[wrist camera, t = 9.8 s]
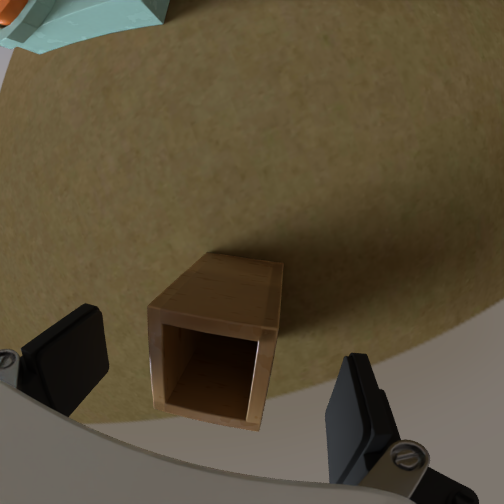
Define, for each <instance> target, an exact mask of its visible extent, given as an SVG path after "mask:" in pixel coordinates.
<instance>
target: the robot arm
mask: <svg viewBox="0 0 504 504" xmlns="http://www.w3.org/2000/svg"><path fill="white" fill-rule="evenodd" d="M21 351H22V355H23V356H21V357H20V356H19V354H18V353H17V352H16V351H14V350H11V349H2V350H0V504H479V499H478V497H477V495H476V494H475V493H474V491H473V490H471V489H470V488H468V487H466V486H464V485H462V484H460V483H458V482H456V481H454V480H452V479H450V478H448V477H447V476H445V475H443V474H440V473H439V472H437V471H435V470H433V469H431V468H430V467H428V466H429V463H430V455H429V453H428V451H427V450H426V449H425V447H424V446H422V445H421V444H419V443H418V442H415V441H411V440H401V439H400V435H399V432H398V429H397V426H396V423H395V420H394V417H393V414H392V411H391V408H390V406H389V402H388V400H387V397H386V394H385V392H384V390H382V389H379V387H378V384H377V382H376V379H375V376H374V373H373V371H372V367H371V365H370V362H369V359H368V356H367V354H361V353H351V354H350V355H349V356H345V357H344V359H343V362H342V365H341V369H340V372H339V375H338V378H337V381H336V384H335V387H334V389H333V392H332V395H331V398H330V401H329V403H328V406H327V409H326V413H325V422H326V434H327V448H328V464H329V482H330V483H318V482H303V481H292V480H282V479H273V478H266V477H258V476H252V475H245V474H240V473H234V472H229V471H224V470H218V469H214V468H209V467H205V466H200V465H197V464H192V463H188V462H185V461H181V460H178V459H174V458H170V457H167V456H164V455H160V454H157V453H154V452H151V451H148V450H145V449H142V448H139V447H136V446H133V445H131V444H128V443H126V442H123V441H120V440H118V439H115V438H113V437H110V436H108V435H105V434H103V433H101V432H99V431H96V430H94V429H91V428H89V427H87V426H85V425H83V424H81V423H79V422H77V421H74V420H72V419H70V418H68V417H69V416H70V415H71V413H72V412H73V411H74V410H75V409H76V408H77V407H78V405H79V404H80V403H81V402H82V401H83V400H84V398H85V397H86V396H87V395H88V394H89V393H90V392H91V390H92V389H93V388H94V387H95V386H96V385H97V384H98V383H99V381H100V380H101V379H102V378H103V377H104V376H105V375H106V373H107V372H108V370H109V361H108V355H107V348H106V341H105V334H104V326H103V317H102V313H101V311H100V310H99V308H98V307H97V306H93V305H90V304H86V303H85V304H83V305H81V306H80V307H78V308H77V309H75V310H74V311H73V312H71V313H70V314H68V315H67V316H65V317H64V318H62V319H61V320H60V321H58V322H57V323H55V324H54V325H52V326H51V327H50V328H48V329H47V330H45V331H44V332H43V333H41V334H40V335H38V336H37V337H36V338H34V339H33V340H31V341H30V342H29V343H27V344H26V345H25V346H23V347H22V348H21Z"/></svg>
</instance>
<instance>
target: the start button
mask: <svg viewBox="0 0 504 504" xmlns="http://www.w3.org/2000/svg"><path fill="white" fill-rule="evenodd" d="M27 2H28V0H0V24H2V25H10V24H11V23H12V22H13V21H14V20H15V19H16V18H17V17H18V16H19V14H20V13H21V11H22V10H23V8H24V7H25V5H26V4H27Z"/></svg>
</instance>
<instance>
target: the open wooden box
mask: <svg viewBox="0 0 504 504" xmlns="http://www.w3.org/2000/svg"><path fill="white" fill-rule="evenodd" d="M283 267H284V263H280V262H272V261H265V260H258V259H251V258H244V257H237V256H230V255H223V254H216V253H209V252H207V253H205V254H204V255H203V256H202V257H201V258H200V259H199V260H198V261H196V262H195V263H194V264H193V265H192V266H191V267H190V268H189V269H187V270H186V271H185V272H184V273H183V274H182V275H181V276H180V277H179V278H177V279H176V280H175V281H174V282H173V283H172V284H171V285H170V286H169V287H167V288H166V289H165V290H164V291H163V292H162V293H161V294H160V295H159V296H158V297H156V298H155V299H154V300H153V301H152V302H151V303H150V304H149V305H148V306H147V315H148V340H149V357H150V371H151V383H152V393H153V403H154V409H157V410H160V411H164V412H167V413H171V414H175V415H179V416H182V417H187V418H191V419H195V420H199V421H204V422H208V423H213V424H218V425H223V426H229V427H234V428H241V429H246V430H251V431H259V430H260V425H261V420H262V416H263V411H264V406H265V401H266V396H267V391H268V386H269V381H270V375H271V370H272V365H273V359H274V354H275V348H276V343H277V337H278V332H279V321H280V309H281V295H282V282H283Z"/></svg>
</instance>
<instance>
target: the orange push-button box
mask: <svg viewBox="0 0 504 504" xmlns="http://www.w3.org/2000/svg"><path fill="white" fill-rule="evenodd" d="M169 2H170V0H28V2H27V4H26V5H25V7H24V8H23V10H22V11H21V13H20V14H19V16H18V17H17V18H16V19H15V20H14V21H13V22H12V23H11V24H10V25H2V24H0V46H2V47H6V48H9V49H13V48H15V47H17V46H18V47H21V48H23V49H26V50H29V51H32V52H35V53H37V54H42V53H45V52H48V51H51V50H54V49H56V48H59V47H62V46H66V45H69V44H72V43H75V42H79V41H82V40H86V39H89V38H93V37H97V36H101V35H105V34H110V33H114V32H119V31H124V30H129V29H134V28H140V27H146V26H153V25H160V24H163V23H164V20H165V16H166V12H167V9H168V5H169Z"/></svg>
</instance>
